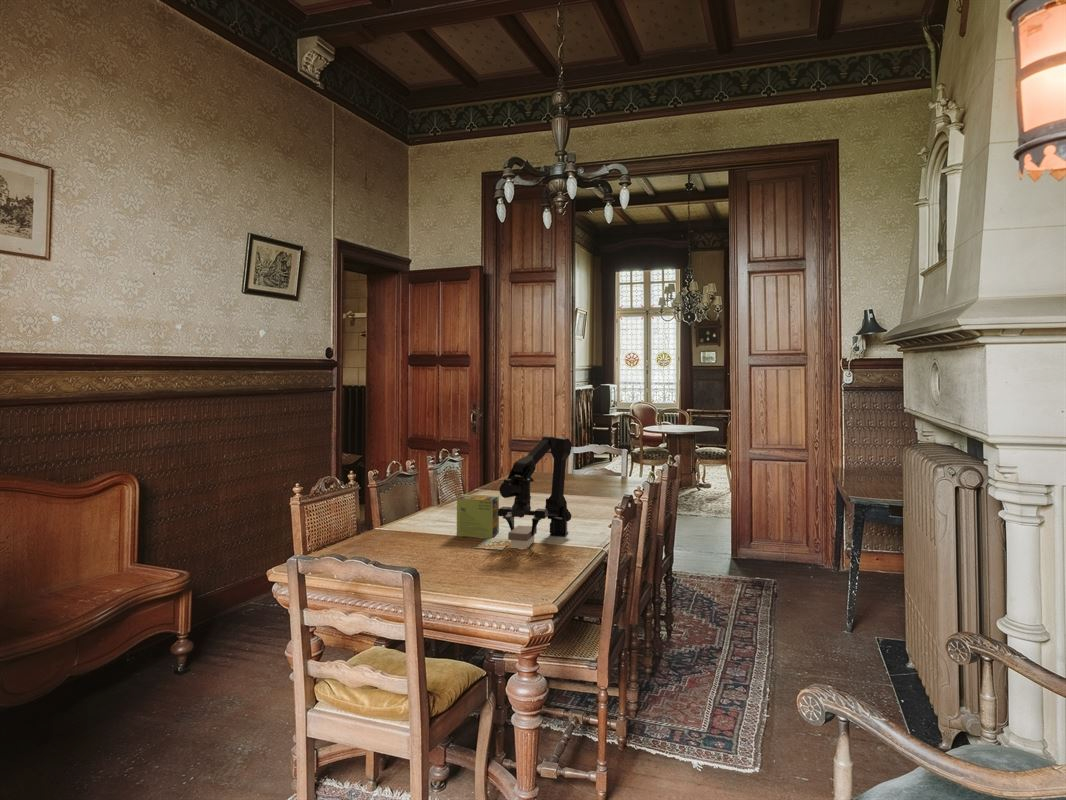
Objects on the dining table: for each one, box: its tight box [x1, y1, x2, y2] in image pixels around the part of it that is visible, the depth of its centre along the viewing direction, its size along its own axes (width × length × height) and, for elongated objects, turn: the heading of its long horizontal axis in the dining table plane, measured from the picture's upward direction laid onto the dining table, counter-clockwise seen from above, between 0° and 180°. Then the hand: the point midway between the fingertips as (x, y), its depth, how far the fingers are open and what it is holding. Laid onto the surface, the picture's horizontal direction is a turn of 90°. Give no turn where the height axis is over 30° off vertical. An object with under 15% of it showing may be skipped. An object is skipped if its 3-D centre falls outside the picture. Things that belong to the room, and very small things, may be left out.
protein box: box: [456, 494, 500, 539], centre depth 274 cm, size 10×15×16 cm
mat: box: [474, 537, 511, 551], centre depth 257 cm, size 11×16×1 cm
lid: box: [507, 525, 538, 541], centre depth 256 cm, size 7×13×2 cm, turn 165°
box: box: [510, 535, 535, 550], centre depth 256 cm, size 6×12×5 cm, turn 165°
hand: (522, 534), depth 256 cm, fingers closed on lid, 7 cm apart
